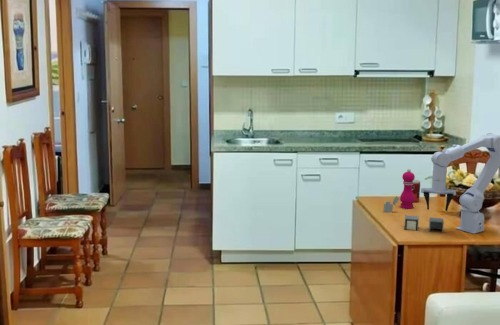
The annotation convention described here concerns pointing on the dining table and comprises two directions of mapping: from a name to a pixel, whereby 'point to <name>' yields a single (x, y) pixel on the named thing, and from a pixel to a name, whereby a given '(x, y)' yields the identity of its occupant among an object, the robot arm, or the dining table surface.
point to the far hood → (411, 219)
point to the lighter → (390, 205)
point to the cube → (411, 224)
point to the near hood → (436, 223)
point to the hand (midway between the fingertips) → (437, 209)
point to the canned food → (416, 190)
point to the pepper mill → (407, 190)
